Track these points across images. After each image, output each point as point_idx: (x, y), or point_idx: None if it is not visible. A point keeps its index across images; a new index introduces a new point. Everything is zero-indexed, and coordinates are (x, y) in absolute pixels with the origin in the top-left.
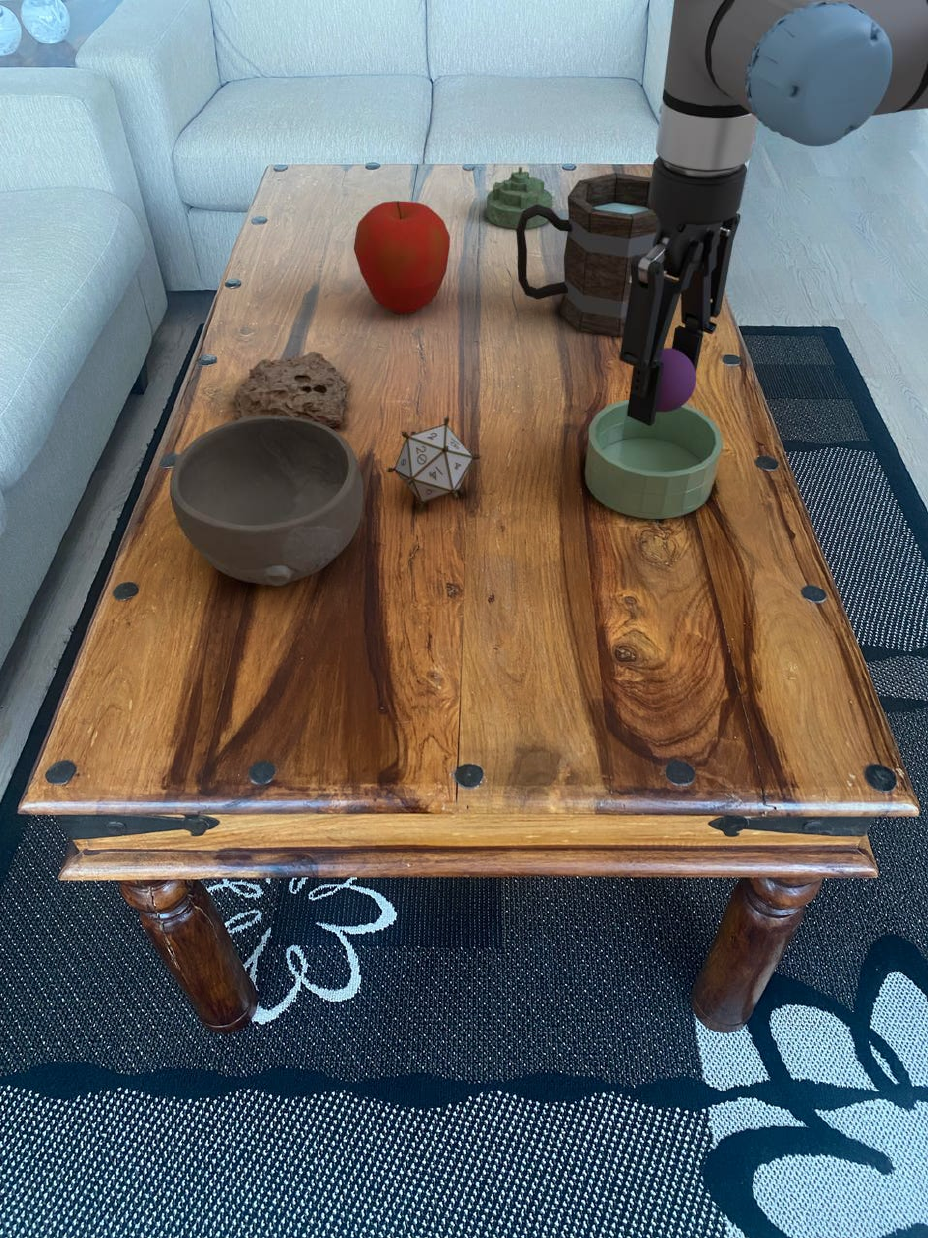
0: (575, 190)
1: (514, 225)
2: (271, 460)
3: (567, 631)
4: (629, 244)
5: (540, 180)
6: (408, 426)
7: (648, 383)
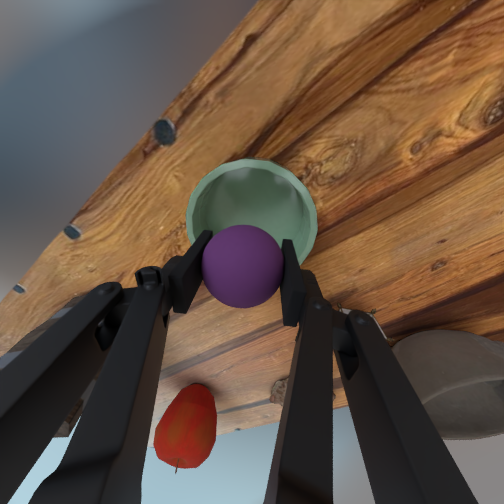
0: (54, 436)
1: None
2: None
3: (470, 175)
4: None
5: None
6: (291, 348)
7: (306, 280)
